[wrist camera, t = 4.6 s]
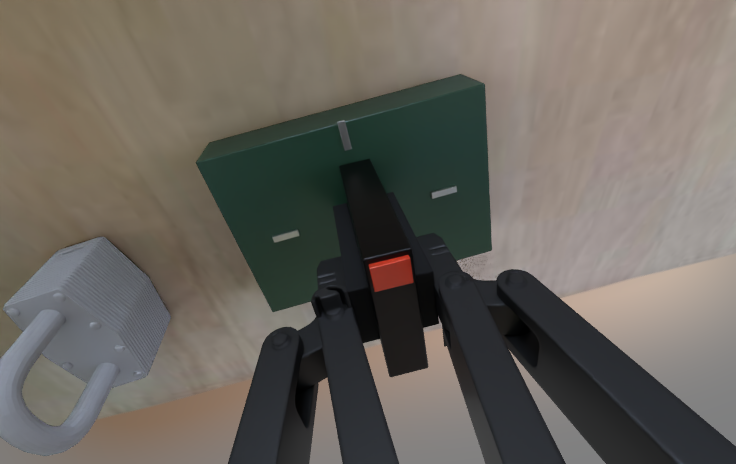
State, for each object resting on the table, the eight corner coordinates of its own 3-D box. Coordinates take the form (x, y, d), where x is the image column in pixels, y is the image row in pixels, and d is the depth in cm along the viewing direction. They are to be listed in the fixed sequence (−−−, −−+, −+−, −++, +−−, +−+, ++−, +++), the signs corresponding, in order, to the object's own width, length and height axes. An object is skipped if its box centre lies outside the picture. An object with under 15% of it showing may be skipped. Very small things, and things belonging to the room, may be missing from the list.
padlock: (48, 251, 21) (-118, 414, 13) (113, 230, 21) (-8, 378, 13) (125, 331, 25) (37, 496, 17) (180, 313, 25) (121, 469, 17)
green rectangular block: (275, 282, 25) (273, 315, 22) (207, 140, 19) (193, 161, 17) (472, 227, 25) (493, 253, 22) (461, 71, 20) (486, 81, 17)
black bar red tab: (387, 254, 21) (430, 373, 14) (360, 260, 21) (391, 383, 14) (370, 158, 18) (414, 252, 11) (338, 165, 18) (363, 264, 11)
